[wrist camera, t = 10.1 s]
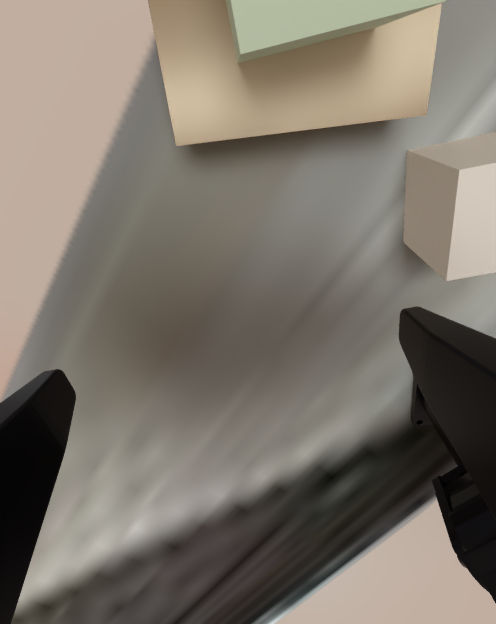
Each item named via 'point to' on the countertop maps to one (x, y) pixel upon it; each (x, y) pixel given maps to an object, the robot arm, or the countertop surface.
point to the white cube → (453, 206)
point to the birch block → (288, 75)
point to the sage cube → (308, 21)
